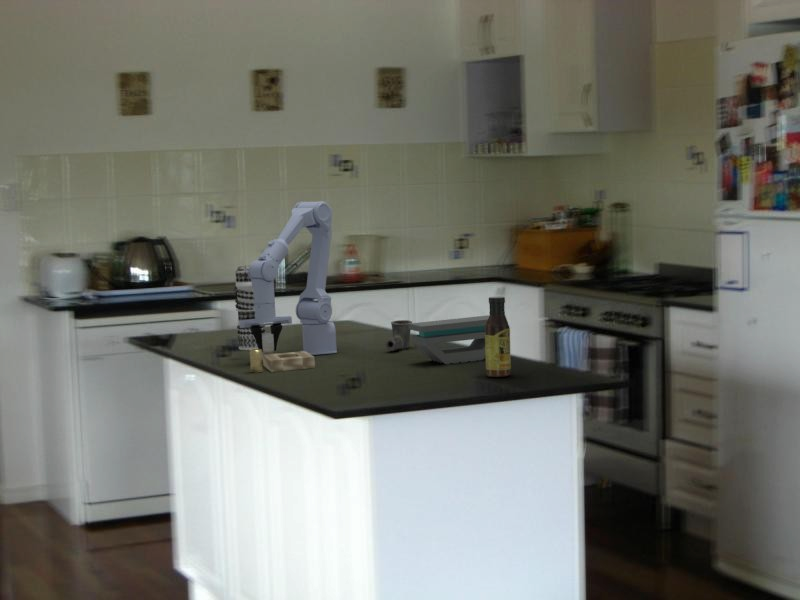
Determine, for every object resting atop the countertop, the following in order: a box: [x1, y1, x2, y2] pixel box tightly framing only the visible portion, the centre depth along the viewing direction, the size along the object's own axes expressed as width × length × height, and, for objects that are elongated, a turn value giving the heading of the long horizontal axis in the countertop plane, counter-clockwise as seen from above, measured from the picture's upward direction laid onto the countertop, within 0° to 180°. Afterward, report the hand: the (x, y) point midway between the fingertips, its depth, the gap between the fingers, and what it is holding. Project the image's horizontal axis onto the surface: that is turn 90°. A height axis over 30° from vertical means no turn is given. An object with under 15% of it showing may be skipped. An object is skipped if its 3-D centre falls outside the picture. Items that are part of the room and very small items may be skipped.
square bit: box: [262, 332, 275, 360], centre depth 354 cm, size 3×3×7 cm
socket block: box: [262, 350, 316, 373], centre depth 345 cm, size 12×12×3 cm
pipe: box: [385, 319, 413, 352], centre depth 368 cm, size 6×13×8 cm, turn 158°
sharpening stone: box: [409, 314, 490, 365], centre depth 344 cm, size 25×8×11 cm, turn 115°
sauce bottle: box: [485, 296, 512, 378], centre depth 316 cm, size 6×6×20 cm
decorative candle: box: [233, 264, 266, 351], centre depth 383 cm, size 9×9×25 cm
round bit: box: [249, 349, 264, 374], centre depth 339 cm, size 3×3×6 cm
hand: (267, 351), depth 354 cm, fingers closed on square bit, 3 cm apart
